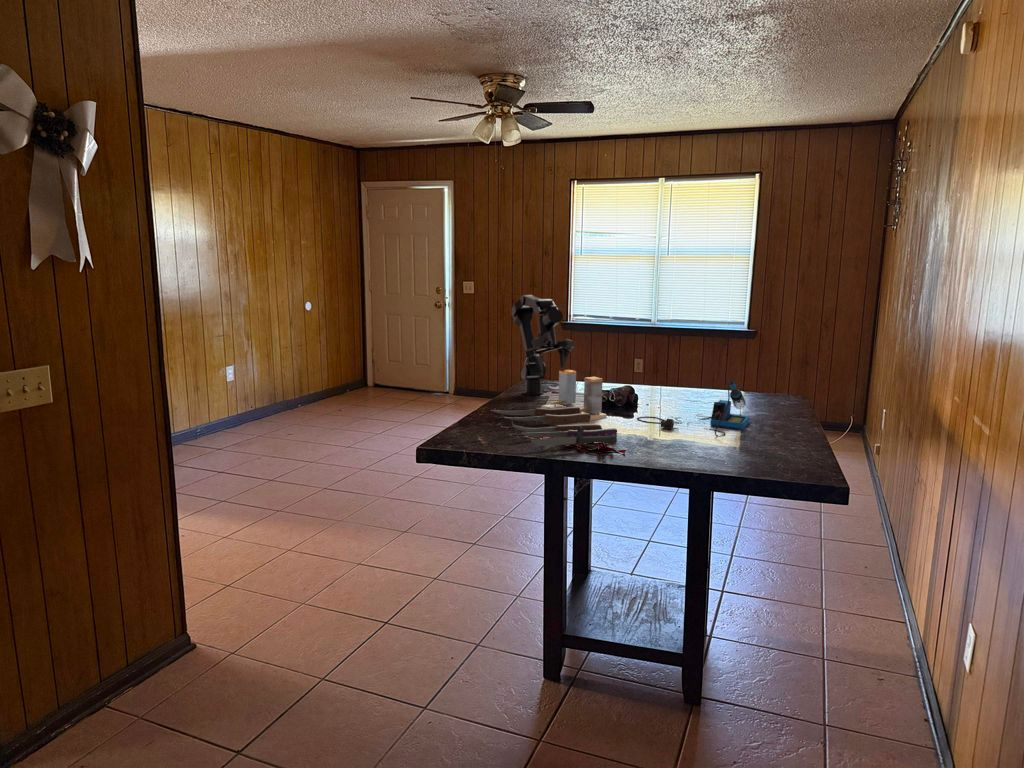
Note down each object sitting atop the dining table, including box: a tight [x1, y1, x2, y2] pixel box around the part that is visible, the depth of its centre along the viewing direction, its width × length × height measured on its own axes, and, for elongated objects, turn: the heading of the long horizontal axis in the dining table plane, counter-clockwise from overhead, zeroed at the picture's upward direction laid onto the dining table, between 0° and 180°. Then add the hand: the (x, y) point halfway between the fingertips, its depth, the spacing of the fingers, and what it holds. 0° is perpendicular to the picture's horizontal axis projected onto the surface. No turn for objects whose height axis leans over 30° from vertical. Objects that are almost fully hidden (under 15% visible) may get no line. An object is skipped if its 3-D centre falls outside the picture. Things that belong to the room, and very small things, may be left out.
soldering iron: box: [636, 379, 751, 437], centre depth 238 cm, size 35×31×18 cm
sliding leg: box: [549, 369, 577, 406], centre depth 253 cm, size 4×10×12 cm, turn 125°
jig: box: [540, 376, 607, 421], centre depth 249 cm, size 23×11×14 cm, turn 35°
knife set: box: [491, 407, 618, 447], centre depth 219 cm, size 35×33×8 cm
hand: (552, 371), depth 261 cm, fingers open, 9 cm apart
